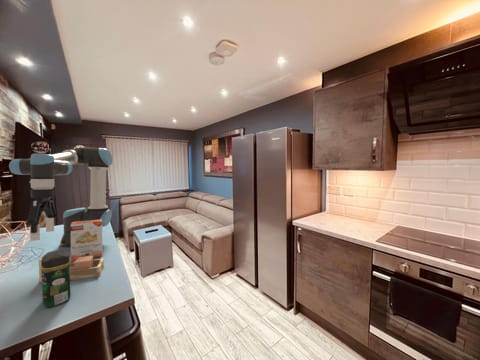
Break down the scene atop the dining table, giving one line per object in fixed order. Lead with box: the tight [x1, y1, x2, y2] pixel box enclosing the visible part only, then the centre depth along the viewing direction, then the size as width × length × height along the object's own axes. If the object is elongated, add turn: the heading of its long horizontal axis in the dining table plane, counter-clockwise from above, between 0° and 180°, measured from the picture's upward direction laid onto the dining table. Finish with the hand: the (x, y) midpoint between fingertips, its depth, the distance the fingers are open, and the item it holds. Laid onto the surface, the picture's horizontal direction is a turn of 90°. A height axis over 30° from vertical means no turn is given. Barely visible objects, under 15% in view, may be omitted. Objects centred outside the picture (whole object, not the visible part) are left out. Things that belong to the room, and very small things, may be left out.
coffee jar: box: [41, 249, 72, 308], centre depth 75 cm, size 10×8×19 cm
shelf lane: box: [70, 258, 105, 281], centre depth 95 cm, size 10×15×4 cm
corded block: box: [38, 255, 94, 283], centre depth 93 cm, size 6×18×10 cm, turn 116°
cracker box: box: [70, 219, 103, 263], centre depth 112 cm, size 14×6×21 cm, turn 124°
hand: (43, 235), depth 89 cm, fingers open, 13 cm apart
